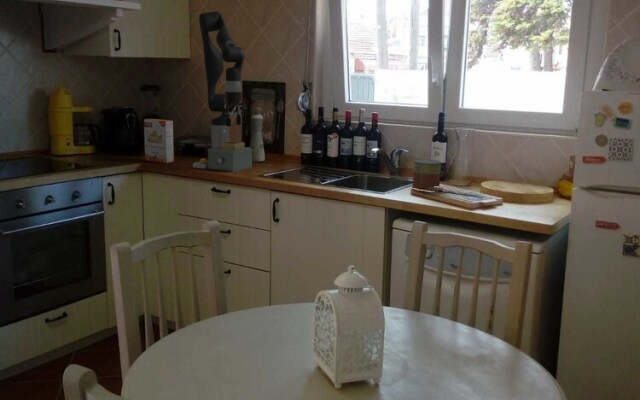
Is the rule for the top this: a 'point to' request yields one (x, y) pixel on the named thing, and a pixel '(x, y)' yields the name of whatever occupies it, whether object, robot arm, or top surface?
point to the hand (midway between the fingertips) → (233, 125)
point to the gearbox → (230, 157)
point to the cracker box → (158, 140)
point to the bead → (203, 161)
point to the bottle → (257, 137)
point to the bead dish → (200, 165)
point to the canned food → (426, 173)
